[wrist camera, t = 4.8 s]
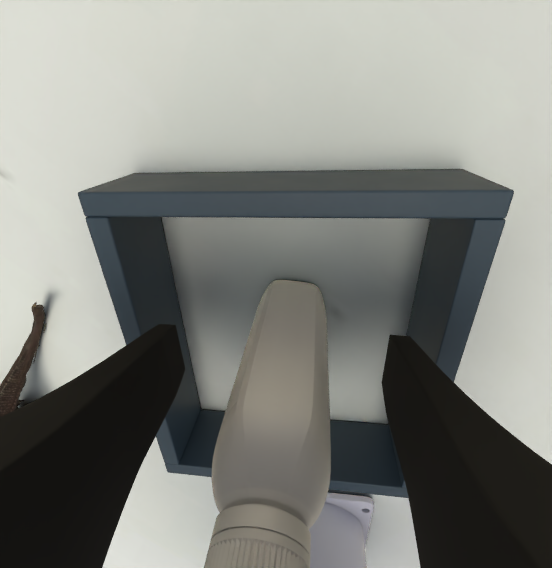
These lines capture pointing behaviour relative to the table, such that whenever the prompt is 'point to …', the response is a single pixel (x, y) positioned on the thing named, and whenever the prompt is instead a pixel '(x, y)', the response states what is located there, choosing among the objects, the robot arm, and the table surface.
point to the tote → (299, 204)
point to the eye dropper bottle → (275, 436)
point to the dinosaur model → (21, 366)
